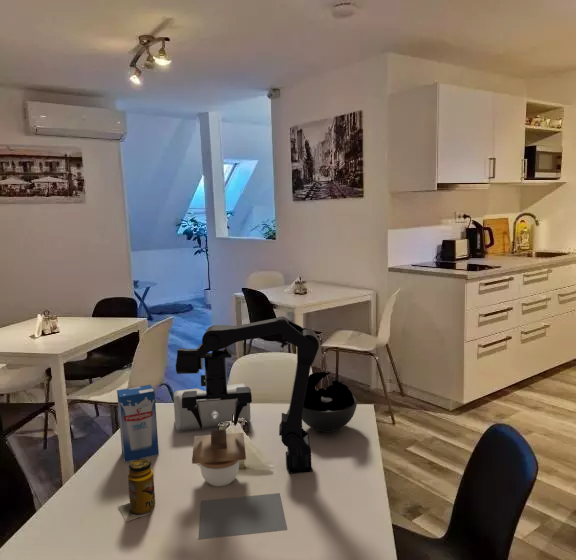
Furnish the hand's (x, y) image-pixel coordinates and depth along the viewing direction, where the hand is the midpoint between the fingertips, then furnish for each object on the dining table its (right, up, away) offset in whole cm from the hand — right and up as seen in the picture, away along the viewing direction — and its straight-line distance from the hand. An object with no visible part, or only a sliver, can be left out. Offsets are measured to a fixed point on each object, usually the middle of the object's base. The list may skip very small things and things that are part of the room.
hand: (218, 426), depth 142 cm
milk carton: (-25, -12, +13) cm, 31 cm away
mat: (+8, -16, -19) cm, 26 cm away
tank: (-6, -9, +31) cm, 33 cm away
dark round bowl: (+32, -9, +26) cm, 42 cm away
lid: (+1, -5, -5) cm, 7 cm away
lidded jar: (+1, -14, -4) cm, 15 cm away
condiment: (-17, -16, -15) cm, 28 cm away
